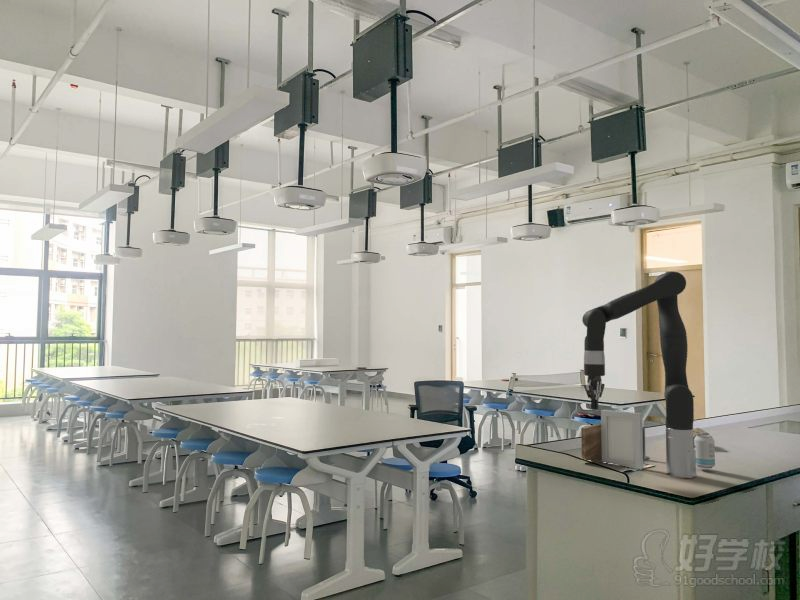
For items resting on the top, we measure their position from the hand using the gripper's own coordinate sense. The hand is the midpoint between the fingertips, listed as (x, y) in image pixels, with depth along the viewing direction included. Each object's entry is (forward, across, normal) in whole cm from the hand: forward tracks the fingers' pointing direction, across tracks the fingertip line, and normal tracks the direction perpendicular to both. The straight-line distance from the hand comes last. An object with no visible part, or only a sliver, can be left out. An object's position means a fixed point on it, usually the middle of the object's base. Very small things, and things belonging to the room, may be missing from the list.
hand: (594, 409), depth 225 cm
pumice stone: (+22, +82, -12) cm, 86 cm away
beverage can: (+22, +35, -28) cm, 50 cm away
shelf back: (+22, +21, +8) cm, 32 cm away
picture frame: (+23, +15, -4) cm, 28 cm away
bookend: (+22, +33, 0) cm, 40 cm away
